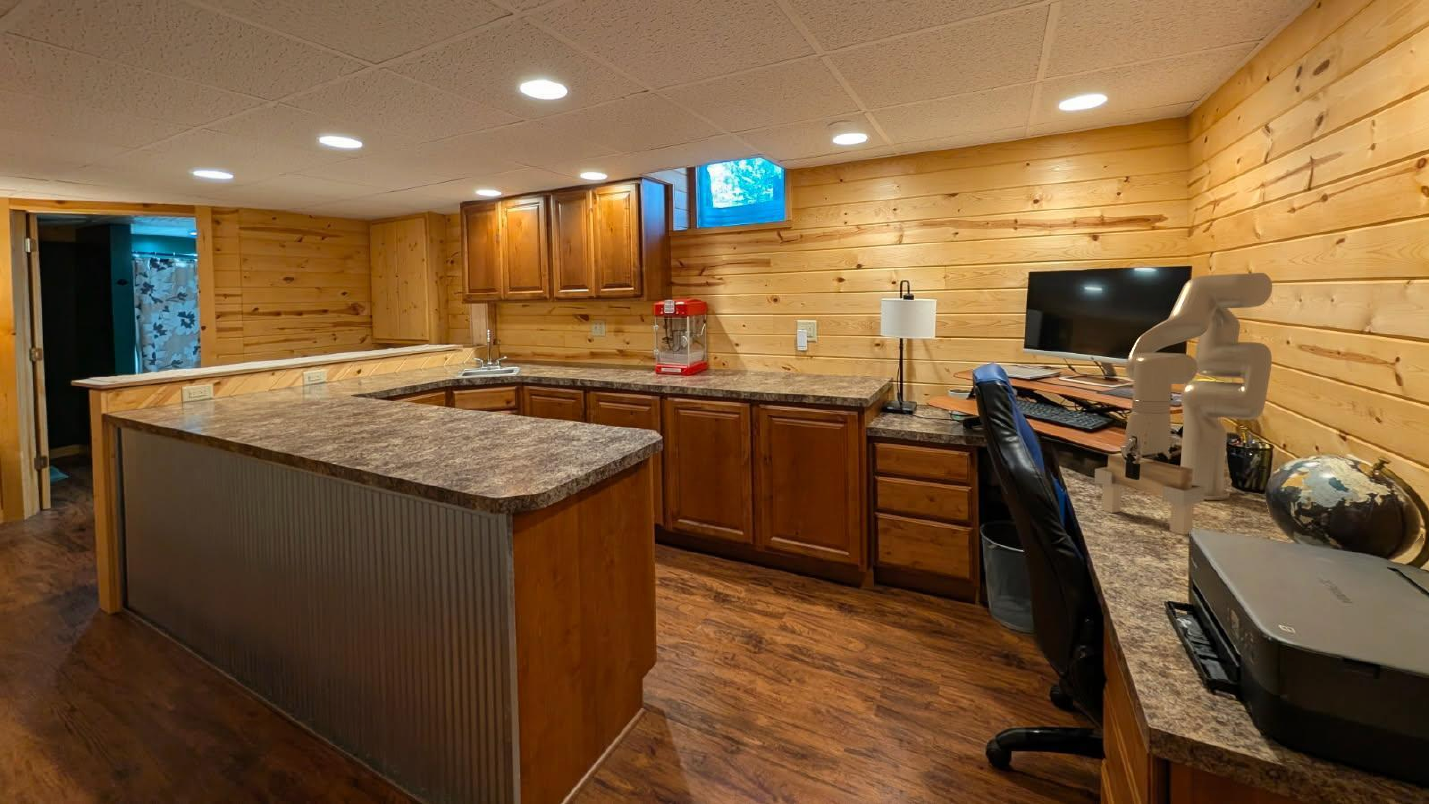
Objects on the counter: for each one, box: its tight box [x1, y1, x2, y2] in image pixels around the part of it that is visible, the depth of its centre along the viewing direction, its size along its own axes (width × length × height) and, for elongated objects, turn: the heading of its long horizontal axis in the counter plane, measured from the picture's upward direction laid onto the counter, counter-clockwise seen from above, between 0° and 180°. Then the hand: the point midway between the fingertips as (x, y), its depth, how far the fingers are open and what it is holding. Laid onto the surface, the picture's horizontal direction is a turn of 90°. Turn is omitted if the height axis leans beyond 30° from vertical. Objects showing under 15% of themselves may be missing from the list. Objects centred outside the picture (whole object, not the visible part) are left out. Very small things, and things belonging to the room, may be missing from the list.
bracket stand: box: [1094, 466, 1205, 536], centre depth 151 cm, size 7×22×11 cm, turn 19°
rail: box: [1107, 452, 1193, 497], centre depth 151 cm, size 4×18×7 cm, turn 19°
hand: (1146, 476), depth 151 cm, fingers open, 9 cm apart
